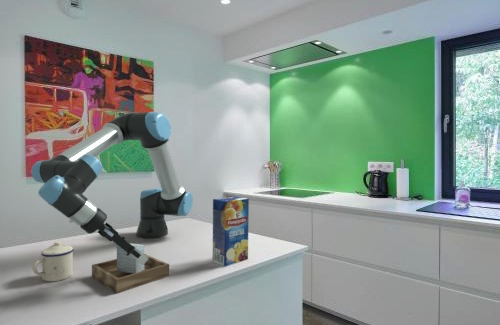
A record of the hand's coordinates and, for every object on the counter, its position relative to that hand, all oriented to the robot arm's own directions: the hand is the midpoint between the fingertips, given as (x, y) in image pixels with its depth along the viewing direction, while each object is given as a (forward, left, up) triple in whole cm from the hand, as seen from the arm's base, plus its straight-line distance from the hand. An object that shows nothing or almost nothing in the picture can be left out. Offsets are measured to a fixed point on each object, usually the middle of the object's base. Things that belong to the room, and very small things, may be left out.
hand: (140, 257), depth 108 cm
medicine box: (-1, -3, -4) cm, 5 cm away
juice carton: (+12, +31, -6) cm, 34 cm away
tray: (-1, -3, -6) cm, 7 cm away
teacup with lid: (-18, -21, -6) cm, 28 cm away
